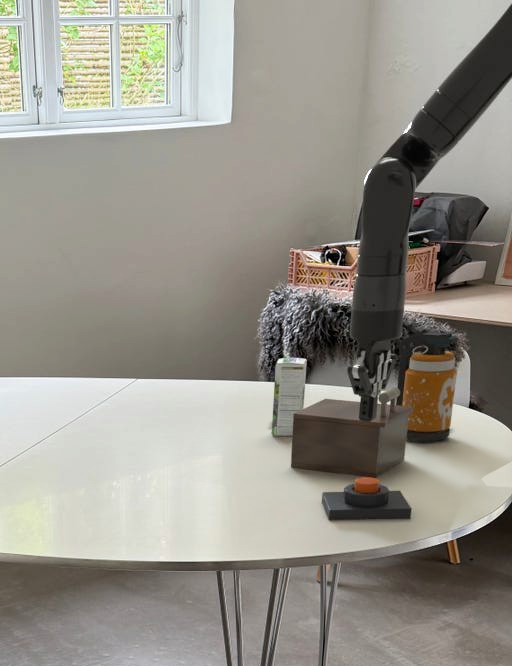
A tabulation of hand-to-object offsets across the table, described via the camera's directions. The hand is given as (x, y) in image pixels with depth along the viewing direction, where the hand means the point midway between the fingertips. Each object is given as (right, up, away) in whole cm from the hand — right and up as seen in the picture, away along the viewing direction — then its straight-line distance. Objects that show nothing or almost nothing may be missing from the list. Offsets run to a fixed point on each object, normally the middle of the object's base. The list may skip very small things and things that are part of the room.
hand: (367, 419), depth 151 cm
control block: (-1, -15, -2) cm, 15 cm away
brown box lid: (+4, +5, +17) cm, 18 cm away
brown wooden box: (+4, -3, +21) cm, 22 cm away
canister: (+22, +4, +34) cm, 40 cm away
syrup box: (-1, +7, +44) cm, 44 cm away
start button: (-1, -12, -3) cm, 12 cm away
